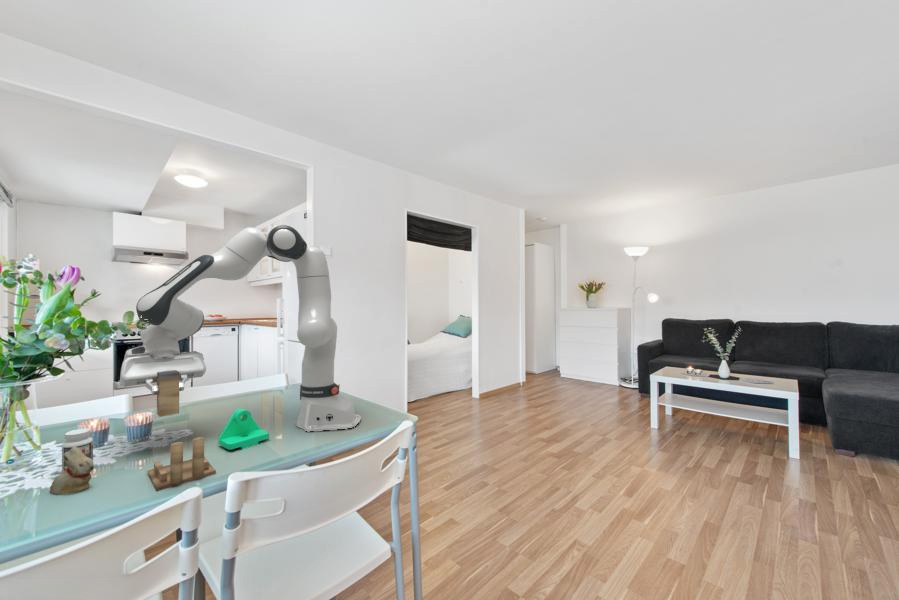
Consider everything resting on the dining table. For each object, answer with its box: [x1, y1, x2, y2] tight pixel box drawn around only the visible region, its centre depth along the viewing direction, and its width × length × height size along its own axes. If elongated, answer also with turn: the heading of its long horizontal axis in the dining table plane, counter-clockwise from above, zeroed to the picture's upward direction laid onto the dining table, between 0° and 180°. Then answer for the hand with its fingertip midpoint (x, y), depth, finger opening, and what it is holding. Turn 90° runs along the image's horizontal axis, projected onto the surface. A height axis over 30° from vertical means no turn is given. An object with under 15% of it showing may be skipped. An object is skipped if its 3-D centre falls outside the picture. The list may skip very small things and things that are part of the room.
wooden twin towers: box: [147, 436, 217, 492], centre depth 93 cm, size 13×12×10 cm
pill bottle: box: [61, 428, 94, 473], centre depth 95 cm, size 6×6×10 cm
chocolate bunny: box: [49, 447, 95, 495], centre depth 85 cm, size 6×8×10 cm
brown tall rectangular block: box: [156, 370, 180, 418], centre depth 106 cm, size 4×4×12 cm
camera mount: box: [217, 408, 270, 451], centre depth 113 cm, size 12×8×10 cm, turn 143°
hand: (168, 391), depth 106 cm, fingers closed on brown tall rectangular block, 4 cm apart
